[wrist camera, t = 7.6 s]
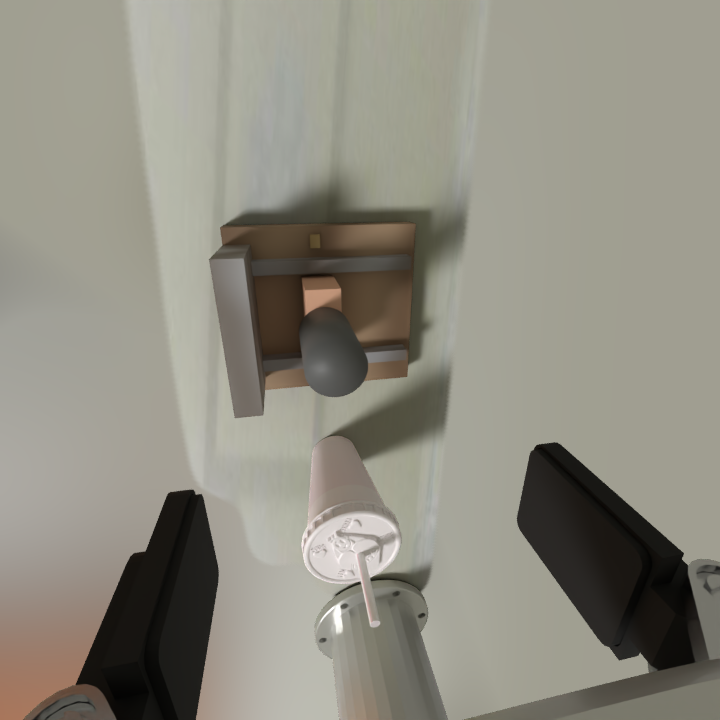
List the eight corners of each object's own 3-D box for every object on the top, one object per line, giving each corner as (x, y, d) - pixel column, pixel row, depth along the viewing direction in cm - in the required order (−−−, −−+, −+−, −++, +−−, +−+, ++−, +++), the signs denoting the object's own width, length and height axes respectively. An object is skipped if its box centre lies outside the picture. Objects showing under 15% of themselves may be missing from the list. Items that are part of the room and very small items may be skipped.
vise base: (408, 221, 26) (446, 232, 20) (401, 368, 30) (430, 411, 25) (223, 225, 24) (205, 237, 18) (245, 382, 28) (237, 432, 23)
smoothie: (332, 494, 34) (364, 671, 22) (279, 458, 32) (280, 635, 19) (385, 449, 33) (449, 606, 21) (334, 407, 31) (373, 559, 18)
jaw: (340, 274, 25) (368, 314, 17) (342, 346, 27) (368, 411, 19) (293, 276, 24) (300, 319, 16) (298, 349, 26) (307, 417, 18)
